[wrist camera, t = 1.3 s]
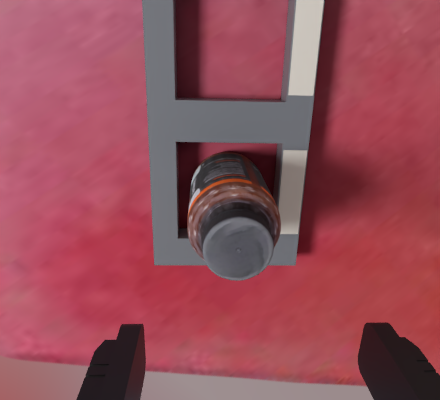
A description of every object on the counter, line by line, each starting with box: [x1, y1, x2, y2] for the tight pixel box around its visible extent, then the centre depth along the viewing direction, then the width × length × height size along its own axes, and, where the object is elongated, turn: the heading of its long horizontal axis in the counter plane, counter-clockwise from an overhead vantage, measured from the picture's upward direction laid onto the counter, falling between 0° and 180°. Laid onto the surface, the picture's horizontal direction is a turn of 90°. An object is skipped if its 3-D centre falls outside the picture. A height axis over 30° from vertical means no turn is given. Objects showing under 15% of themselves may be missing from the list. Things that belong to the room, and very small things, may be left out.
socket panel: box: [142, 0, 325, 265], centre depth 27 cm, size 12×24×2 cm, turn 179°
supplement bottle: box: [187, 152, 281, 281], centre depth 25 cm, size 6×6×11 cm
